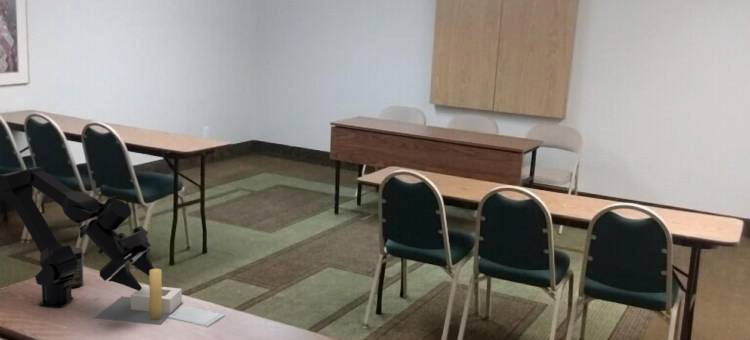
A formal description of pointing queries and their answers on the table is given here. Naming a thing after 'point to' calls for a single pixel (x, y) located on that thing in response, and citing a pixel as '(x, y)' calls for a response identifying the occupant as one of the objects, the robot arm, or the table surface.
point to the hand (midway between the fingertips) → (148, 283)
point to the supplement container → (78, 277)
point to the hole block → (169, 299)
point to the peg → (155, 294)
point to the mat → (130, 313)
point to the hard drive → (196, 316)
